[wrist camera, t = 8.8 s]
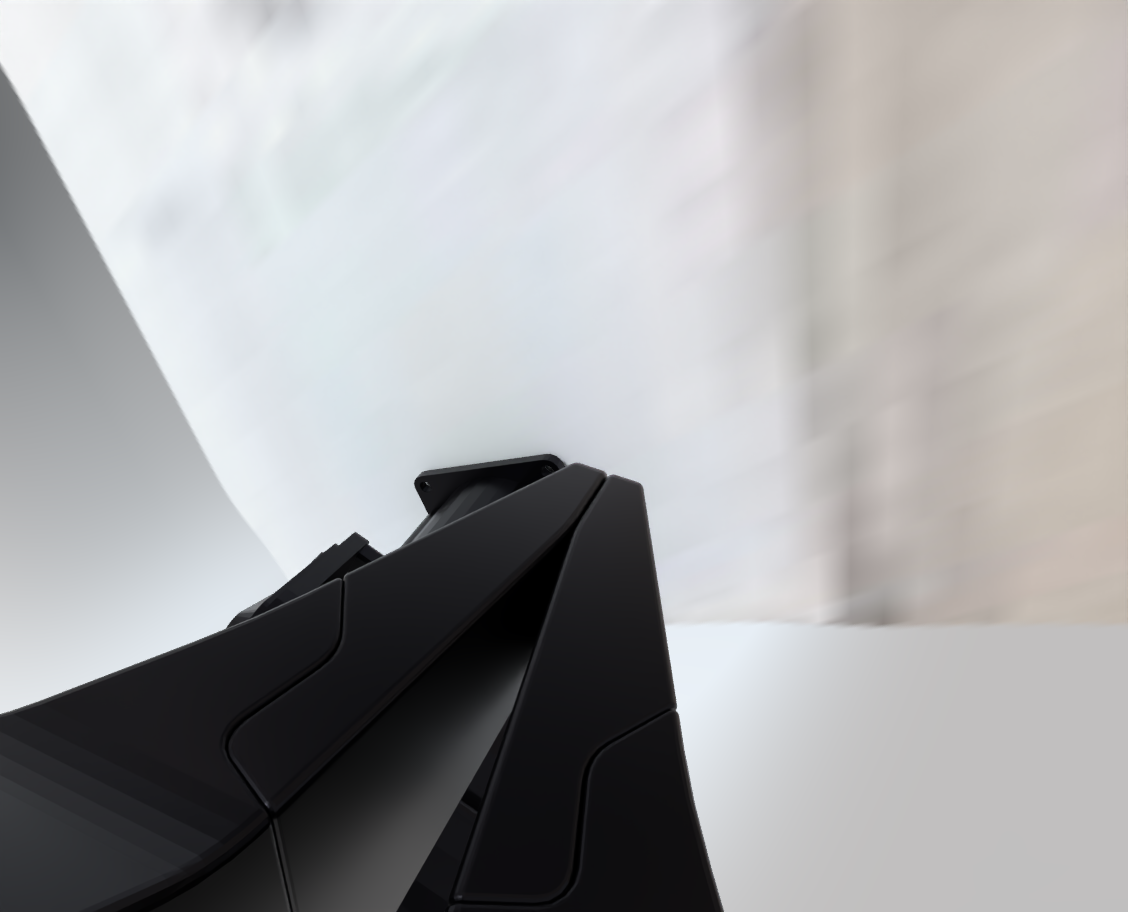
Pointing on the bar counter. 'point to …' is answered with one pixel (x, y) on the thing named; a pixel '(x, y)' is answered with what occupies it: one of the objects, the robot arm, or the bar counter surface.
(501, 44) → the bar counter surface
